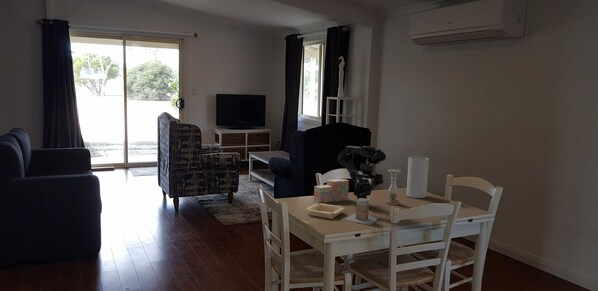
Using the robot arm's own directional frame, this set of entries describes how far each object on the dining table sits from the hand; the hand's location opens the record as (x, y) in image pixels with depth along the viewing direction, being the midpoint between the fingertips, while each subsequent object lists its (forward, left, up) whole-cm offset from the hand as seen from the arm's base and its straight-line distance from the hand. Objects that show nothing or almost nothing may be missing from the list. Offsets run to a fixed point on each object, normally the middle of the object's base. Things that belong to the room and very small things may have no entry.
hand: (362, 189), depth 245 cm
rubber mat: (+11, +4, -14) cm, 18 cm away
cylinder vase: (-61, +16, -14) cm, 65 cm away
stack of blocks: (-20, -26, -14) cm, 36 cm away
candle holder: (-33, +8, -14) cm, 37 cm away
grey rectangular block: (+11, +4, -13) cm, 17 cm away
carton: (+13, -16, -14) cm, 24 cm away
